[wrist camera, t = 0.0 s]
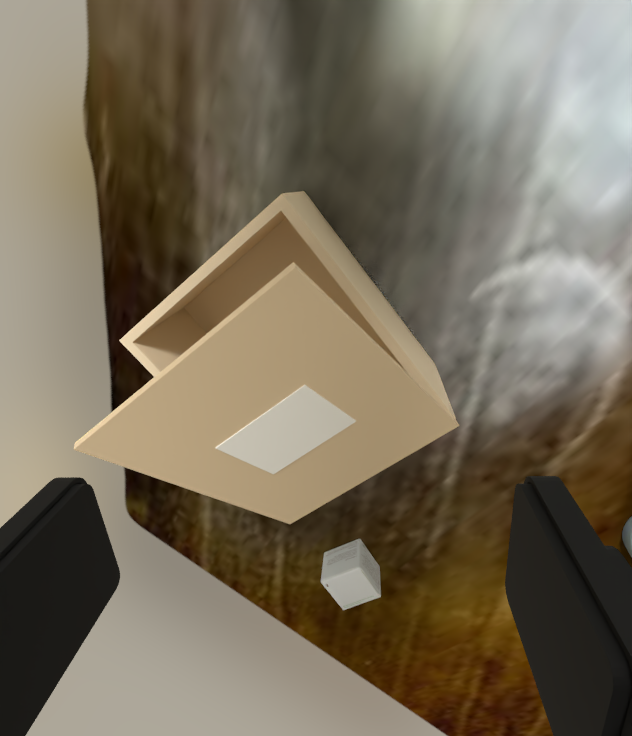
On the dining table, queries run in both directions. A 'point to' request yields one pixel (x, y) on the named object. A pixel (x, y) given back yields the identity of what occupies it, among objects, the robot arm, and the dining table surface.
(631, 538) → the blue gray cup
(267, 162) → the dining table surface
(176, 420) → the lid flap
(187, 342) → the carton
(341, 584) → the small box
